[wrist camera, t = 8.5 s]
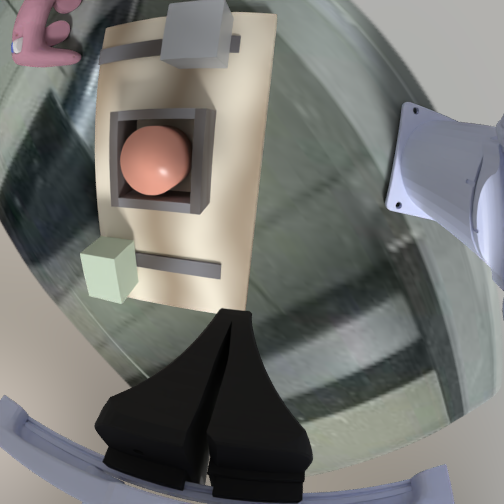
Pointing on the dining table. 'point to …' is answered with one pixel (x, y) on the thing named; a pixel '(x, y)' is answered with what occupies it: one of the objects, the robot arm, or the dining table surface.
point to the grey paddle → (197, 34)
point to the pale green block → (110, 268)
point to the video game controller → (42, 34)
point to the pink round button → (156, 159)
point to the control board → (203, 160)
